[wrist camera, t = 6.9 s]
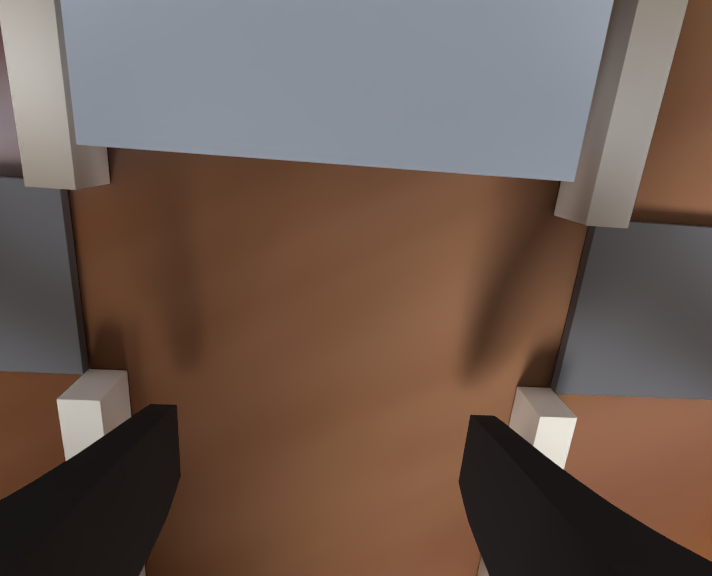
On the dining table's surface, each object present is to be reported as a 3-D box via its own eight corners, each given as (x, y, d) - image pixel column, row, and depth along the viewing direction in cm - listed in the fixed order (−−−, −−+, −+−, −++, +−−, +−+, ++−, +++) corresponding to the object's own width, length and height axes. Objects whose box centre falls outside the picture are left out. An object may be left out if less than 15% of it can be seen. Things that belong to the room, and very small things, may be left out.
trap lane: (630, 611, 16) (695, 712, 13) (-42, 609, 14) (-133, 724, 12) (953, -269, 9) (1250, -466, 6) (-339, -484, 7) (-787, -904, 4)
